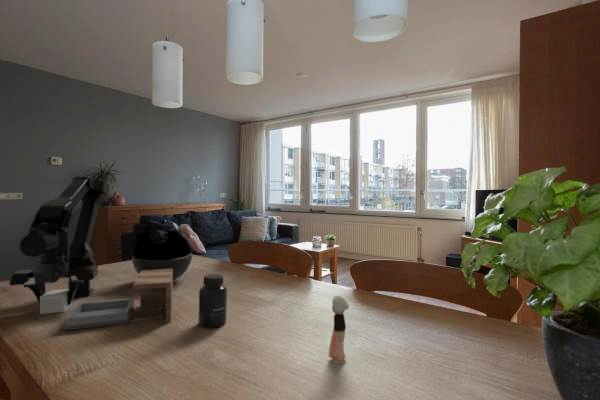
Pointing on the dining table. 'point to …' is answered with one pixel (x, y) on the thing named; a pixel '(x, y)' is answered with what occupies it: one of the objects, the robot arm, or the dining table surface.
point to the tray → (100, 314)
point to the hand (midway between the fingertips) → (56, 305)
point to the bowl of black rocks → (162, 254)
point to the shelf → (156, 289)
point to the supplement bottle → (212, 302)
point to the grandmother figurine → (338, 330)
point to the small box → (54, 301)
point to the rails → (144, 318)
